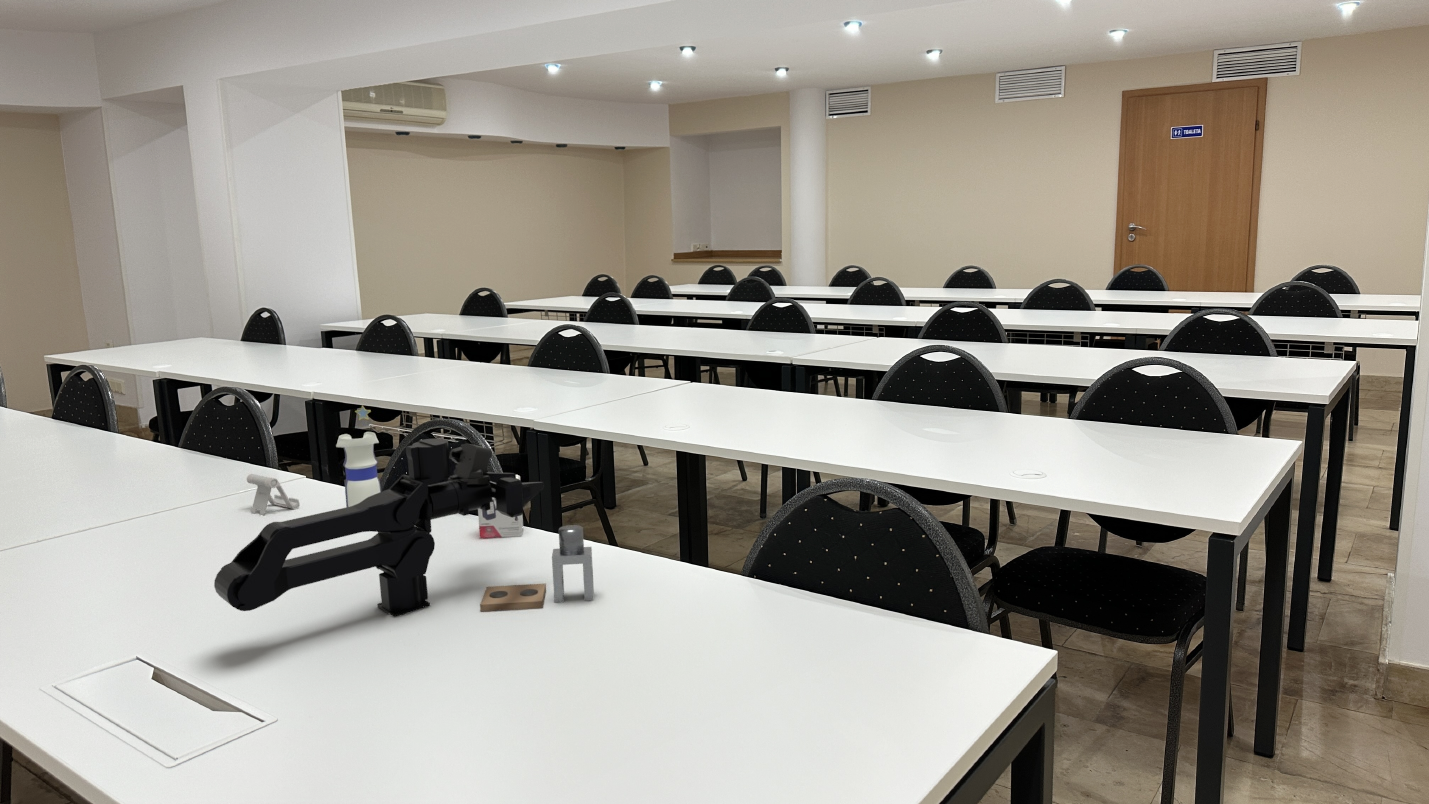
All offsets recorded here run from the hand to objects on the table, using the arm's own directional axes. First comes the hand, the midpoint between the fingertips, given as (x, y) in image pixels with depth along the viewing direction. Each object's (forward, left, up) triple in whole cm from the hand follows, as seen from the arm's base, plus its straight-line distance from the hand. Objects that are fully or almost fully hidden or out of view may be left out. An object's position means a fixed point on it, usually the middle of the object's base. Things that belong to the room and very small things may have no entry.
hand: (529, 480), depth 174 cm
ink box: (+7, +22, -17) cm, 29 cm away
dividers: (-3, -17, -17) cm, 24 cm away
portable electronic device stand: (-19, +77, -17) cm, 81 cm away
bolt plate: (-11, -11, -17) cm, 23 cm away
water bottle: (-9, +51, -17) cm, 55 cm away
